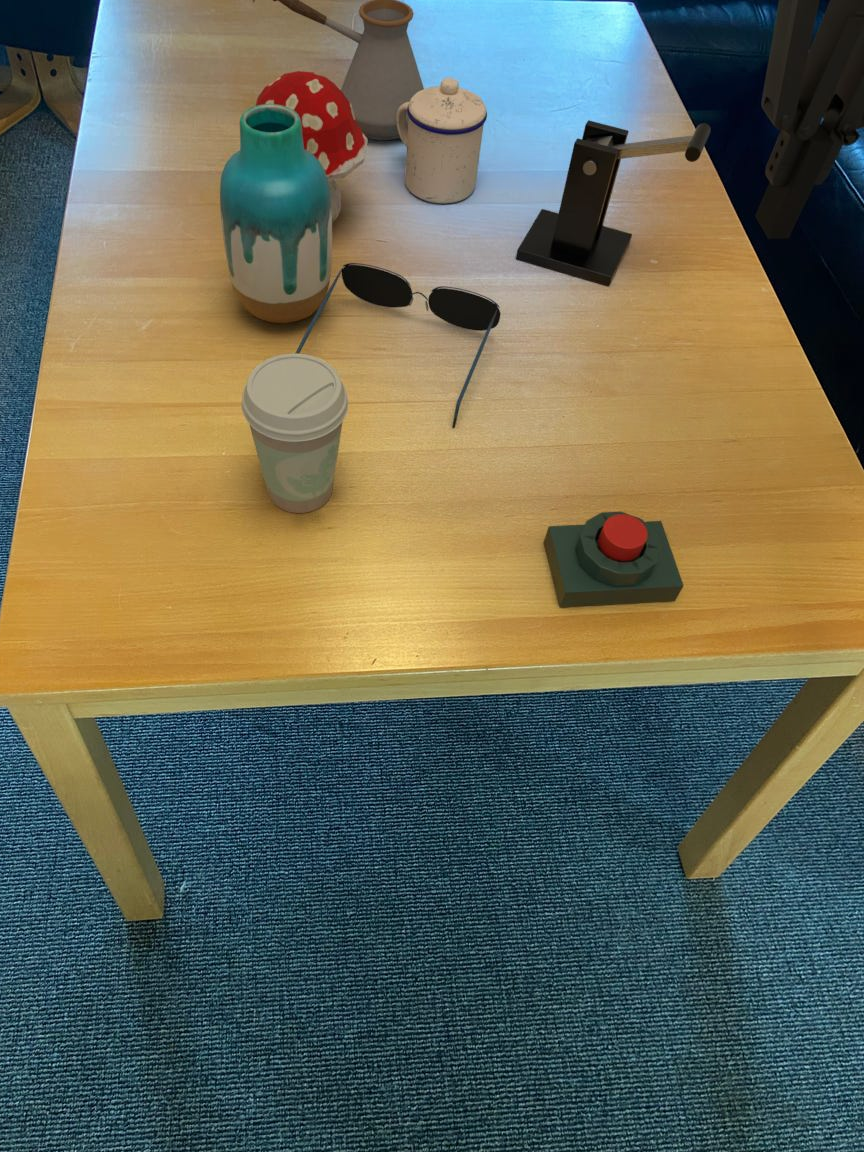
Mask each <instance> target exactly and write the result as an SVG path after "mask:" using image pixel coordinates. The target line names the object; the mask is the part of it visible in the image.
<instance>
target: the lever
mask: <svg viewBox="0 0 864 1152" xmlns="http://www.w3.org/2000/svg"><path fill="white" fill-rule="evenodd" d="M711 130H712V129H711V126H710V125H709V124H708V123H706V122H705V123H704V122H703V123H700V124H698V125H697V126H696V127H695V130H694V133H693V134H692V135H685V136H677V137H669V138H660V139H652V140H644V141H643V140H642V141H636V142H635V141H634V142H628V143H627V142H626V143H625V144H619V145H613V136H607V137H599V138H591V139H586V141H590V142H594V143H597V144H601V145H605V146H609V147H613V148H616V149H619V151H618V154H617V158H616V159H621V160H623V159H630V158H632V159H633V158H641V157H648V156H656V155H657V156H658V155H666V154H675V153H681V152H682V153H683V152H685V153H684V158H685V159H686V160H687V162H690V163H694V162H696V161H698V160H699V159H700V157H701V154H702V153H703V150H704V148H705V145H706V144H707V141H708V139H709V137H710V135H711V132H712V131H711Z"/></svg>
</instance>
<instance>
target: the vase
mask: <svg viewBox="0 0 864 1152" xmlns="http://www.w3.org/2000/svg"><path fill="white" fill-rule="evenodd" d="M239 142H240V143H239V150H237V151H235V153H233V154H232V155H231V156H230V157H229V159H228V160H227V161H226V162H225V164H224V167H223V169H222V172H221V174H220V175H221V176H220V186H219V208H220V220H221V221H220V222H221V229H222V231H221V232H222V238H223V246H224V252H225V253H224V254H225V258H226V259H225V260H226V263H227V269H228V273H229V279H230V282H231V285H232V289H233V291H234V293H235V295H236V297H237V299H238V301H239V302H240V304H241V305H242V306H243V307H244V308H245V310H247V311H248V312H249V313H250V314H251V315H253V316H255V317H256V318H257V319H260V320H263V321H266V322H271V323H277V324H289V323H293V322H298V321H301V320H305V318H308V317H310V316H311V315H312V314H314V312H316V311H318V309H319V307H320V305H321V304H322V302H323V300H324V298H325V296H326V294H327V293H328V291H329V288H330V287H329V286H330V284H331V283H330V282H331V276H332V262H333V223H332V213H331V198H330V190H329V184H328V179H327V176H326V173H325V170H324V168H323V166H322V165H321V163H320V161H319V160H318V159H317V158H316V157H315V156H314V155H313V154H311V153H310V152H308V151H307V150H305V149H304V144H303V136H302V124H301V119H300V117H299V115H298V114H297V113H296V112H295V111H294V110H292V109H290V108H288V107H286V106H282V105H276V104H263V105H258V106H255V105H254V106H252V107H249V108H248V109H246V110H244V112H243V113H241V116H240V118H239Z"/></svg>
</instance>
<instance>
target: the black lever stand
mask: <svg viewBox="0 0 864 1152" xmlns="http://www.w3.org/2000/svg"><path fill="white" fill-rule="evenodd" d="M628 135H629V130H628V129H624V128H620V127H617V126H612V125H608V124H604V123H600V122H597V121H593V120H587V121H586V122H585V126H584V129H583V134H582V137H581V138H578V137H577V138H576V140H575V141H574V143H573V147H572V152H571V155H570V156H571V157H570V161H569V165H568V170H567V173H566V179H565V183H564V188H563V192H562V197H561V201H560V205H559V210H558V212H555V211H551V210H547V209H545V208H541V210H540V211H539V213H538V215H537V216H536V217H535V219H534V220H533V223H532V225H531V226H530V228H529V229H528V231H527V233H526V235H525V236H524V238H523V240H522V241H521V243H520V244H519V247H518V248H517V251H516V255H515V259H516V260H517V261H518V260H519V261H522V262H525V263H528V264H532V265H535V266H539V267H542V268H545V269H549V270H552V271H556V272H559V273H562V274H566V275H569V276H572V277H576V278H579V279H582V280H586V281H590V282H593V283H596V284H600V285H603V286H607V287H610V286H611V283H612V281H613V280H614V277H615V275H616V273H617V271H618V268H619V267H620V264H621V262H622V260H623V258H624V256H625V254H626V252H627V250H628V248H629V245H630V243H631V240H632V237H633V234H632V233H630V232H626V231H622V230H619V229H615V228H613V227H608V226H605V225H604V223H605V220H606V216H607V212H608V208H609V205H610V200H611V197H612V193H613V190H614V186H615V183H616V180H617V175H618V172H619V168H620V164H621V160H622V159H616V158H617V154H618V151H619V149H616V148H613V147H609V146H605V145H601V144H597V143H594V142H590V141H586V139H591V138H599V137H607V136H613V145H619V144H627V139H628Z"/></svg>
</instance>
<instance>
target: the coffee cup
mask: <svg viewBox="0 0 864 1152" xmlns="http://www.w3.org/2000/svg"><path fill="white" fill-rule="evenodd" d="M241 411H242V415H243V417H244V419H245V420H246V422H247V424H248V426H249V428H250V432H251V436H252V439H253V444H254V447H255V450H256V454H257V458H258V462H259V466H260V470H261V472H262V476H263V479H264V483H265V486H266V490H267V494H268V497H269V499H270V501H271V502H272V503H273V504H274V505H275V506H276V507H278V508H280V510H284V511H286V512H290V513H293V514H294V513H295V514H305V513H311V512H313V511H317V510H318V509H320V508H321V507H323V506H325V504H326V503H328V501H329V500H330V498H331V496H332V494H333V489H334V480H335V475H336V468H337V461H338V456H339V448H340V442H341V435H342V429H343V421H344V420H345V418H346V416H347V414H348V411H349V397H348V393H347V389H346V387H345V384H344V383H343V382H342V380H341V376H340V375H339V373H338V371H337V369H335V368H334V367H333V365H332V364H330V363H329V362H327V361H326V360H324V359H322V358H320V357H317V356H314V355H311V354H307V353H299V354H297V353H296V352H294V353H283V354H277V355H275V356H272V357H269V358H267V359H264V360H263V361H261V362H260V363H259V364H257V365H256V366H255V367H254V368H253V369H252V371H251V372H250V373H249V375H248V377H247V380H246V384H245V386H244V387H243V391H242V396H241Z"/></svg>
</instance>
